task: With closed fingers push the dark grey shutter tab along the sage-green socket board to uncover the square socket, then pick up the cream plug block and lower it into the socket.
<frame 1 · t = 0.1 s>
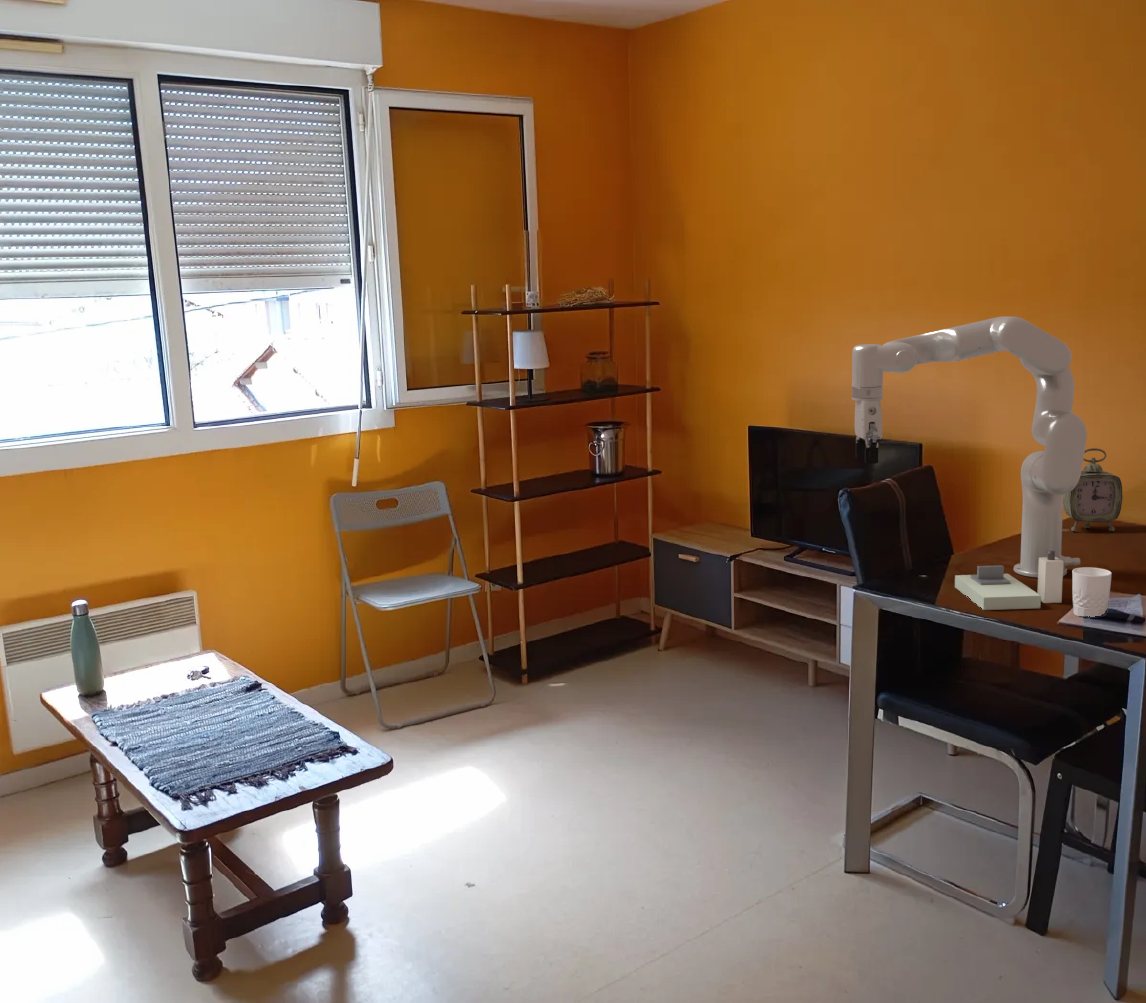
hand: (866, 460, 266), 31 cm above the table, tool pointing down, fingers open, 9 cm apart
socket board: (995, 597, 250), on the table
shutter: (990, 573, 253), point 5 cm above the table, slide at 0.0 cm
white cup: (1089, 615, 234), on the table
plug: (1049, 600, 246), on the table
tabletop clock: (1089, 530, 314), on the table
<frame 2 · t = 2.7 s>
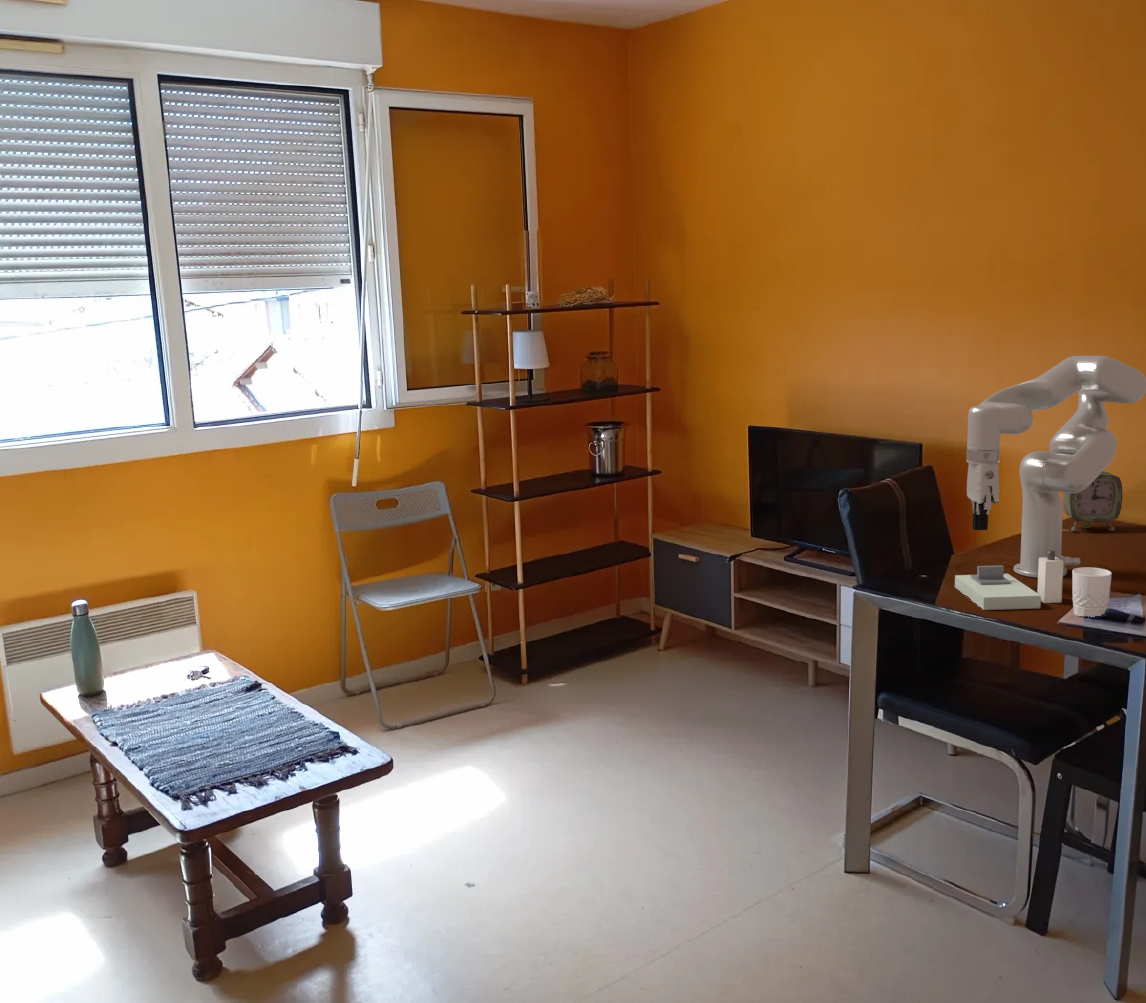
hand: (979, 529, 258), 14 cm above the table, tool pointing down, fingers closed
nothing on the table moved.
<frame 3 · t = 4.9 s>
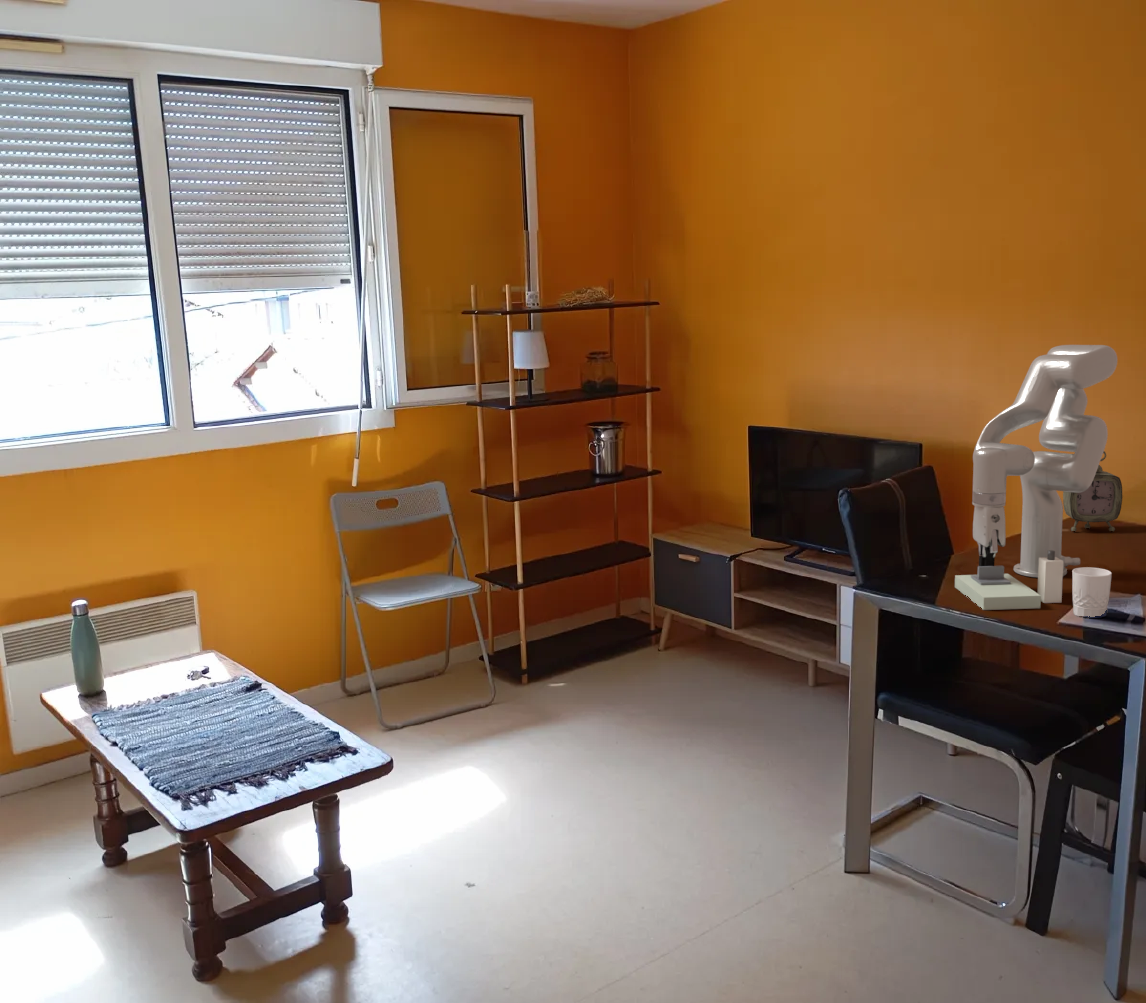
hand: (986, 572, 255), 5 cm above the table, tool pointing down, fingers closed
shutter: (990, 573, 253), point 5 cm above the table, slide at 0.2 cm, touching gripper
everything else where it was.
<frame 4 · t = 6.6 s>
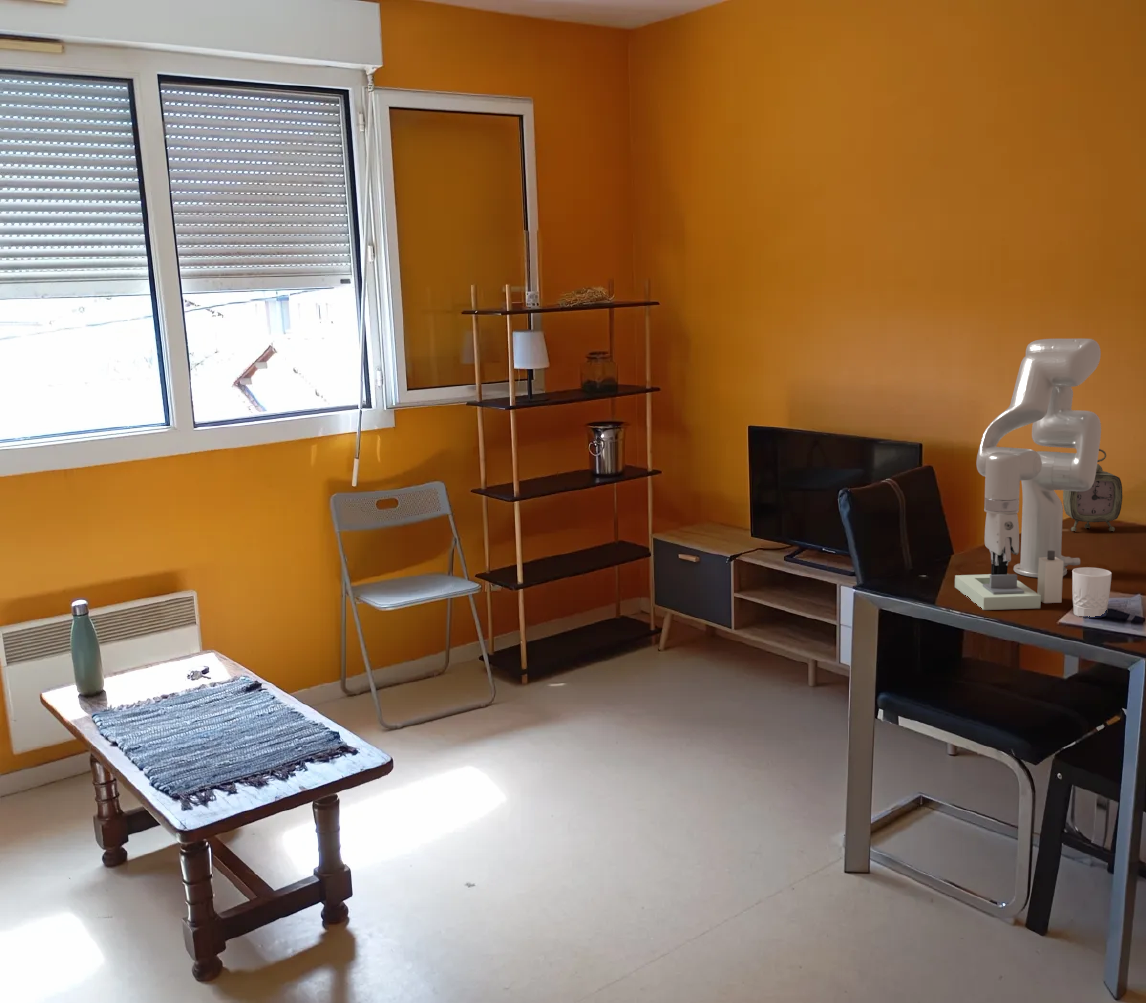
hand: (998, 580, 247), 5 cm above the table, tool pointing down, fingers closed
shutter: (1003, 582, 245), point 5 cm above the table, slide at 8.3 cm, touching gripper
everything else where it was.
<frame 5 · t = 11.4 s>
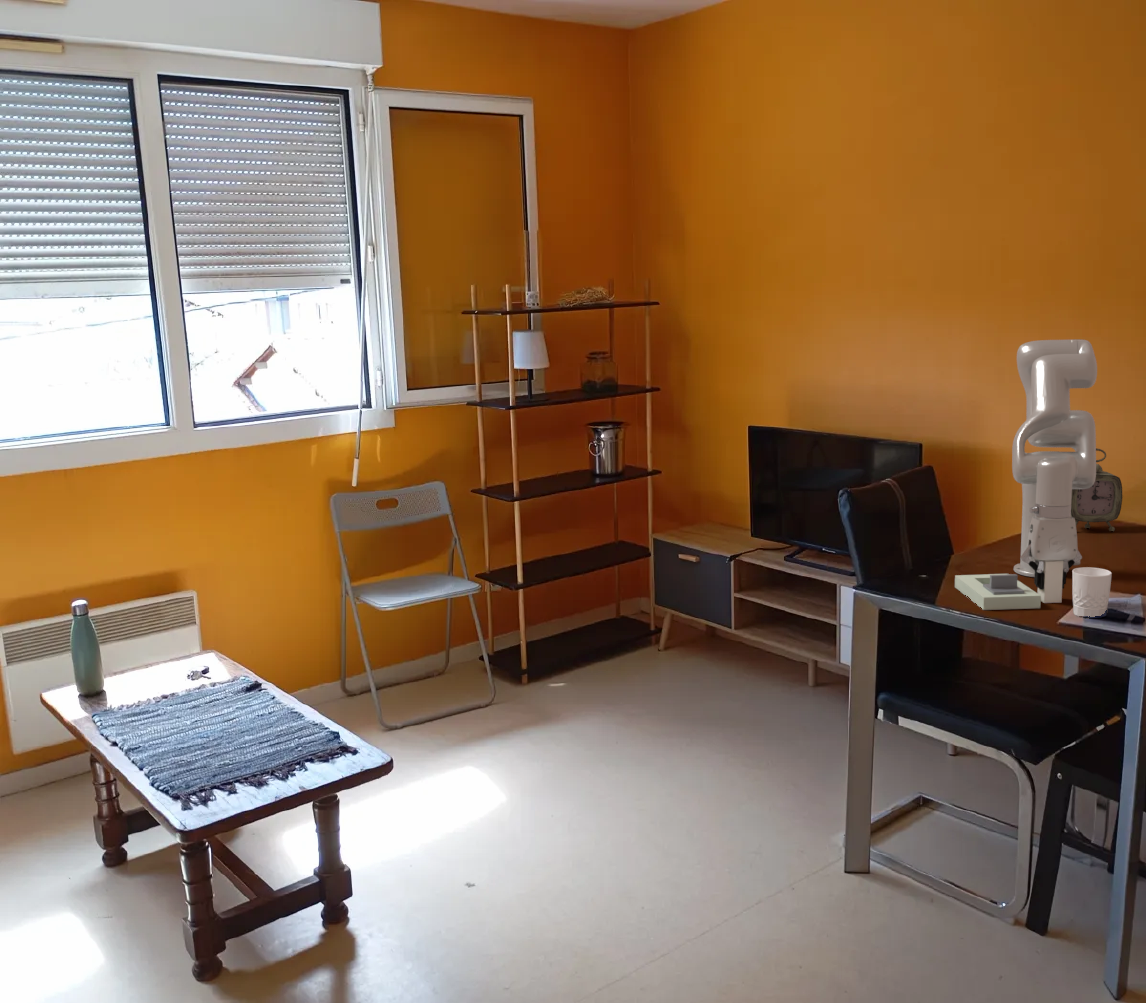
hand: (1049, 586, 245), 3 cm above the table, tool pointing down, fingers closed on plug, 4 cm apart
shutter: (1003, 582, 245), point 5 cm above the table, slide at 8.5 cm
plug: (1049, 600, 246), on the table, touching gripper
everything else where it was.
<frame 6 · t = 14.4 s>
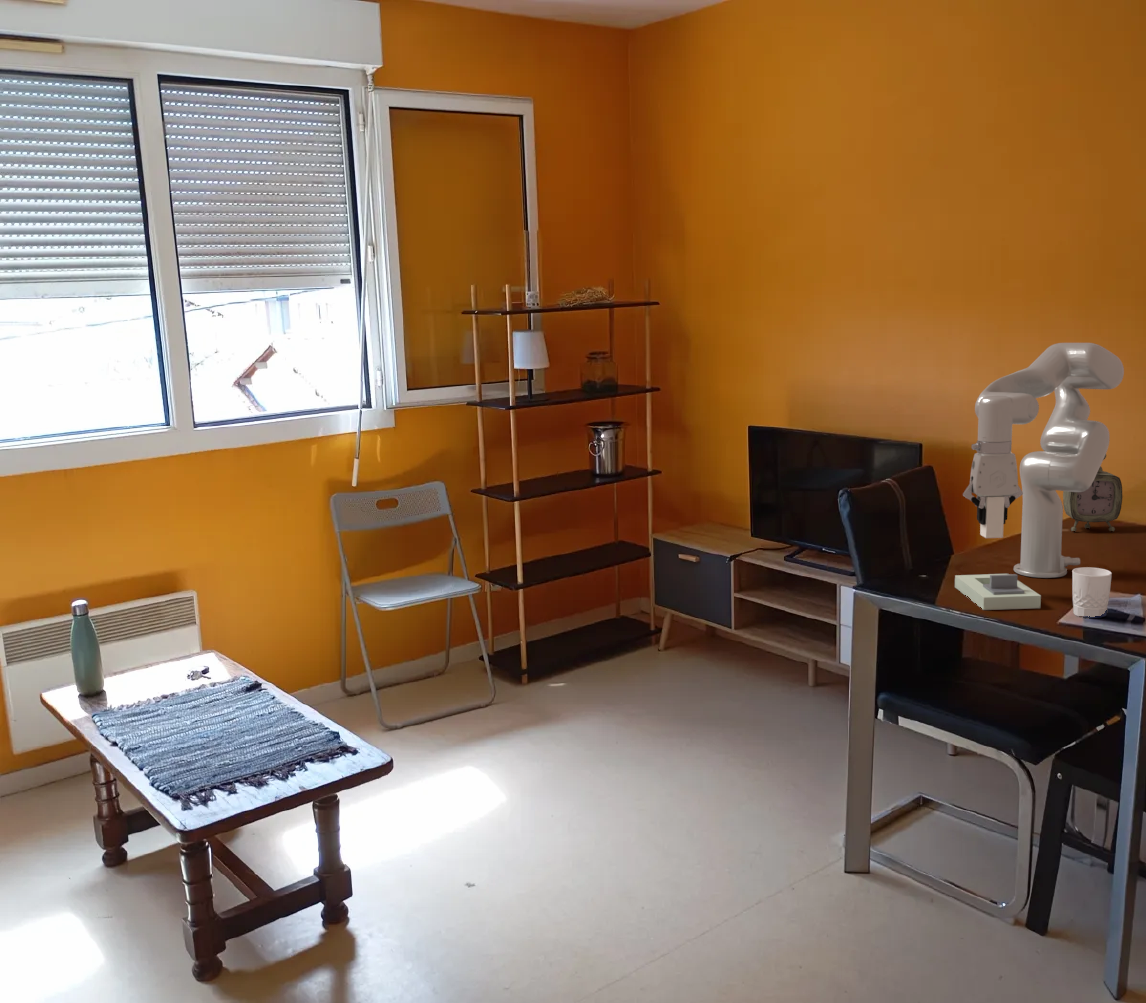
hand: (991, 522, 251), 18 cm above the table, tool pointing down, fingers closed on plug, 4 cm apart
plug: (991, 536, 251), point 14 cm above the table, touching gripper
everything else where it was.
when the fingers open (4 cm above the table, at t = 17.5 s): plug drops 1 cm, resting in socket board.
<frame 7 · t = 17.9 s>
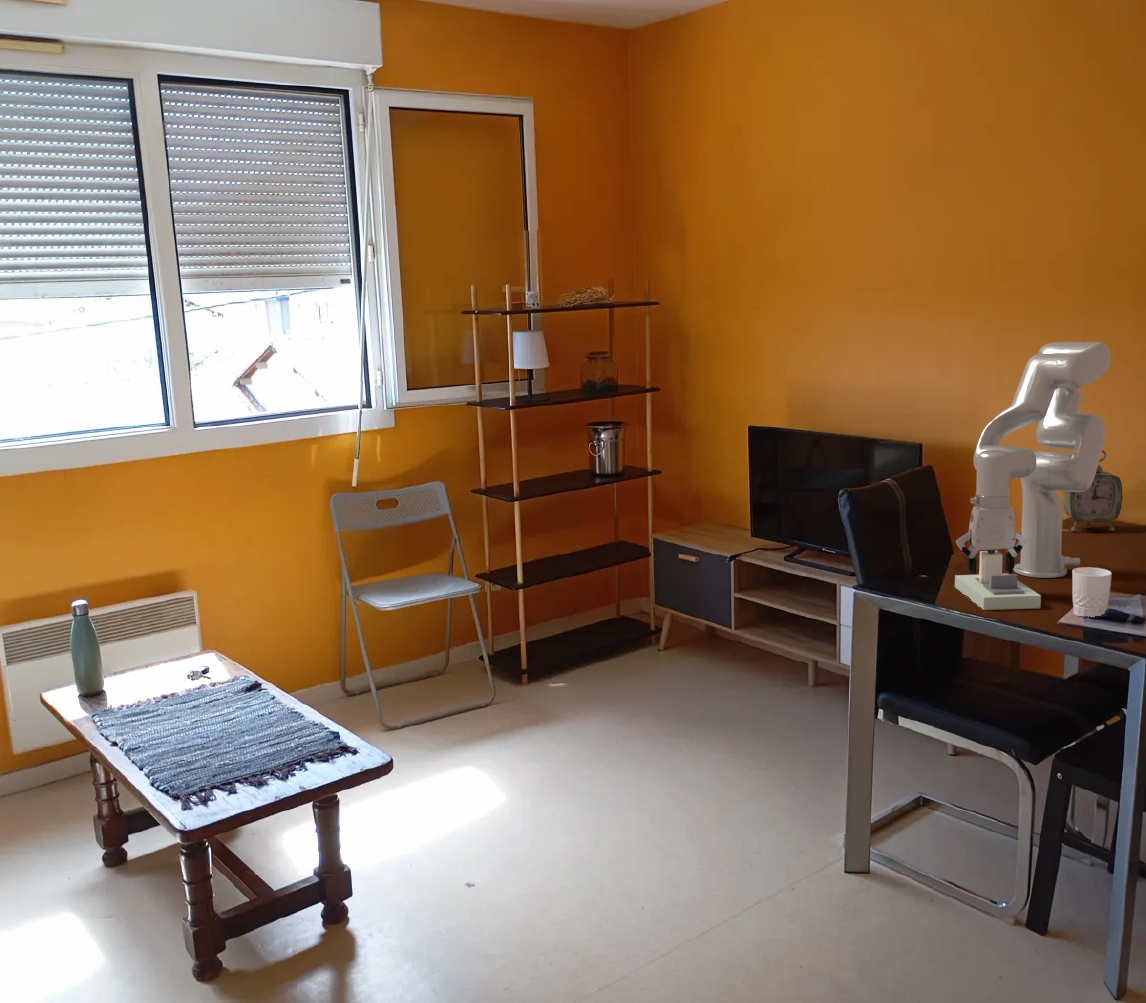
hand: (990, 571, 253), 5 cm above the table, tool pointing down, fingers open, 8 cm apart
plug: (989, 592, 254), resting in socket board
everything else where it was.
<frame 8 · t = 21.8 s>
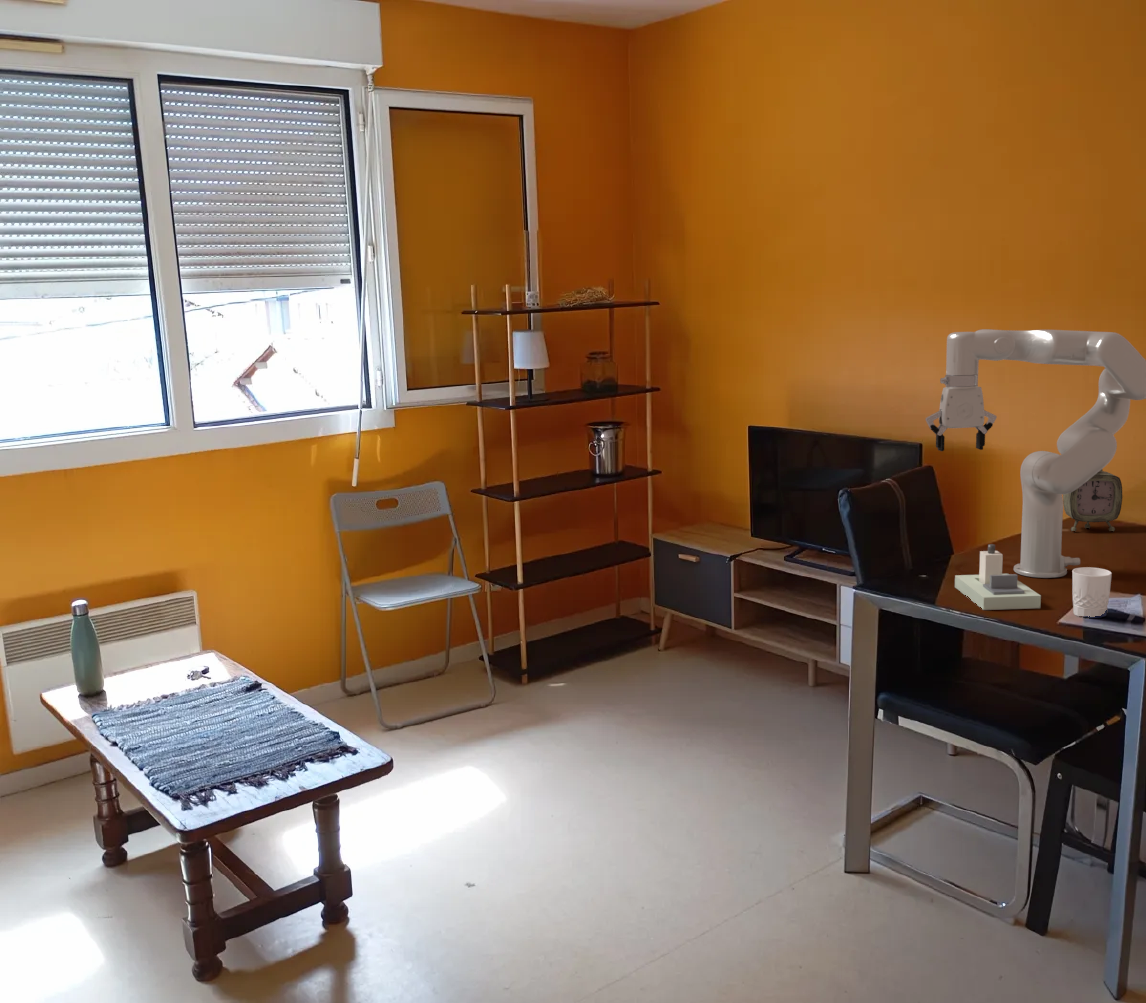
hand: (960, 449, 263), 33 cm above the table, tool pointing down, fingers open, 9 cm apart
nothing on the table moved.
at the end: plug 0.1 cm from the target spot on the socket board, point 0.0 cm above the socket board's base; plug tilted 0°; shutter slide at 8.5 cm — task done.
